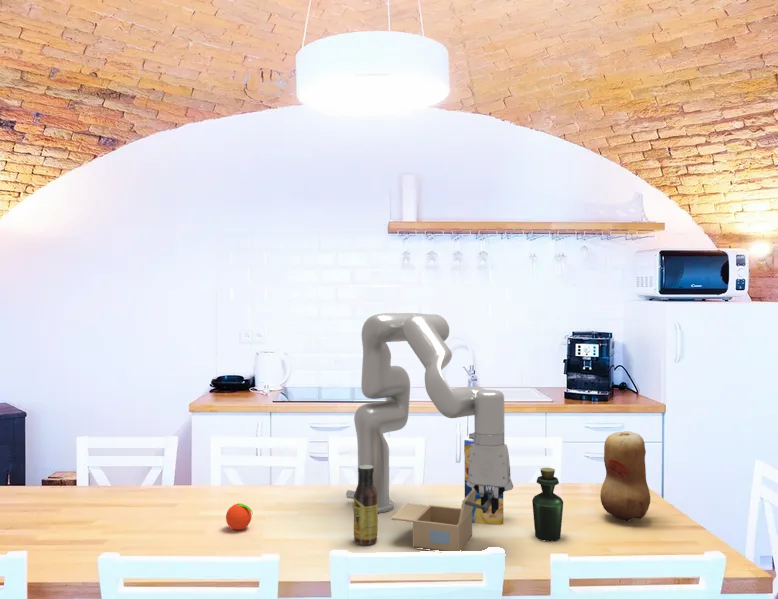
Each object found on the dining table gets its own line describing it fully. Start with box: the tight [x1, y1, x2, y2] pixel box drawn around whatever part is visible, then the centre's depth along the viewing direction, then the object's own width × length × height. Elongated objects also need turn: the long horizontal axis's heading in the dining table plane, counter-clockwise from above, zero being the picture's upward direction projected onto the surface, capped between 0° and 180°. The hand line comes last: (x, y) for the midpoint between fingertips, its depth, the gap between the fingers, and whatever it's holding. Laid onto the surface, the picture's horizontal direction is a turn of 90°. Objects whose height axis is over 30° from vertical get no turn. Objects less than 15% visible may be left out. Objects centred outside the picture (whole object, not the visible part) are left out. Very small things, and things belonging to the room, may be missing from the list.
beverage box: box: [463, 439, 504, 525], centre depth 193 cm, size 7×11×22 cm, turn 83°
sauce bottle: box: [353, 465, 379, 546], centre depth 175 cm, size 7×6×20 cm
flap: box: [458, 488, 494, 525], centre depth 172 cm, size 6×13×6 cm
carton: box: [391, 503, 473, 551], centre depth 176 cm, size 18×14×7 cm
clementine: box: [225, 502, 254, 531], centre depth 185 cm, size 8×7×7 cm
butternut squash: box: [600, 430, 651, 522], centre depth 193 cm, size 14×13×25 cm
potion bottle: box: [532, 467, 564, 542], centre depth 179 cm, size 8×8×18 cm
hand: (489, 511), depth 171 cm, fingers closed
